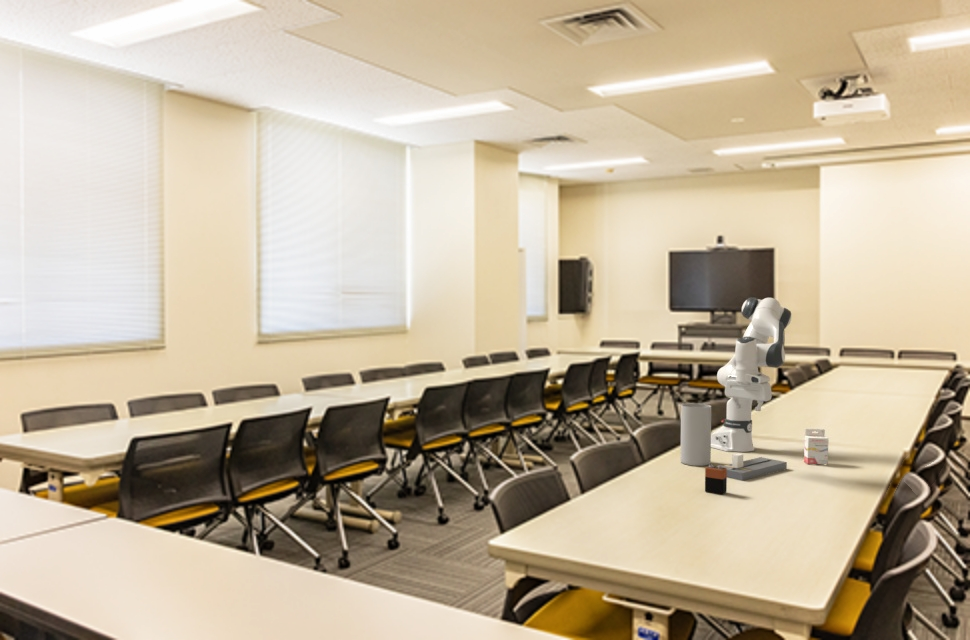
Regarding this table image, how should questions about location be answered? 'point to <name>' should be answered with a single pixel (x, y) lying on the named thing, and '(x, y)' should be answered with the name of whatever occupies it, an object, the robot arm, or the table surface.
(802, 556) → the table surface
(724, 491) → the battery
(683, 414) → the cylinder vase
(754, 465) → the console
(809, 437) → the ink cartridge box
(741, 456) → the fader
